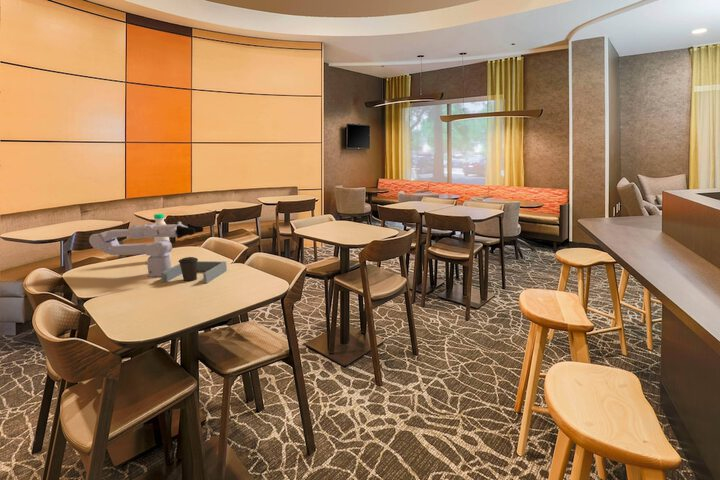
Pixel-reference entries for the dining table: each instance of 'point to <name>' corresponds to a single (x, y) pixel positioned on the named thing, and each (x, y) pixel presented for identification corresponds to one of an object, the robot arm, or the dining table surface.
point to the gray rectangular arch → (210, 266)
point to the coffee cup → (189, 268)
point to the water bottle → (160, 221)
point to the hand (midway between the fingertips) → (198, 230)
